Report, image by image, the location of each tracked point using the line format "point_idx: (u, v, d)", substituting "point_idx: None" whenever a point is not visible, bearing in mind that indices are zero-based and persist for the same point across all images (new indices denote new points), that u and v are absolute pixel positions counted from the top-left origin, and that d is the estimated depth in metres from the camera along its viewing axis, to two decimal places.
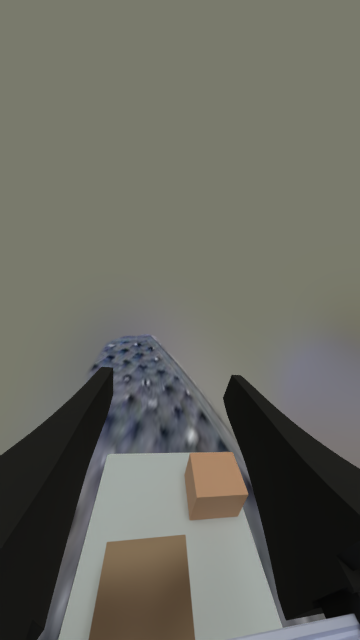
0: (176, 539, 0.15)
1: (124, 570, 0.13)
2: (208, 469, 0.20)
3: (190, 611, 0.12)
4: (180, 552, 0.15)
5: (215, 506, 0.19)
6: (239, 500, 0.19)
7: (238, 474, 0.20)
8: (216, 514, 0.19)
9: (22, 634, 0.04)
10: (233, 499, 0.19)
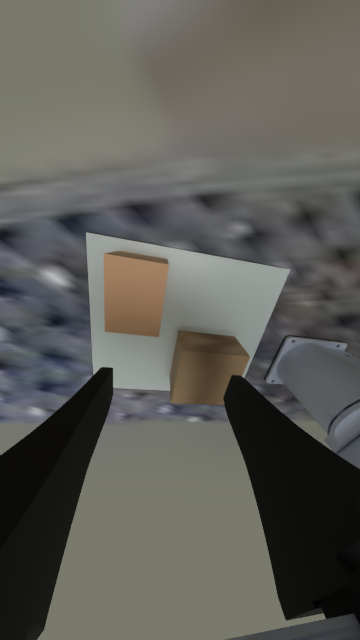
0: (182, 358, 0.16)
1: (187, 391, 0.18)
2: (129, 312, 0.13)
3: (217, 355, 0.16)
4: (190, 356, 0.16)
5: None
6: None
7: (142, 264, 0.12)
8: None
9: (22, 634, 0.04)
10: None
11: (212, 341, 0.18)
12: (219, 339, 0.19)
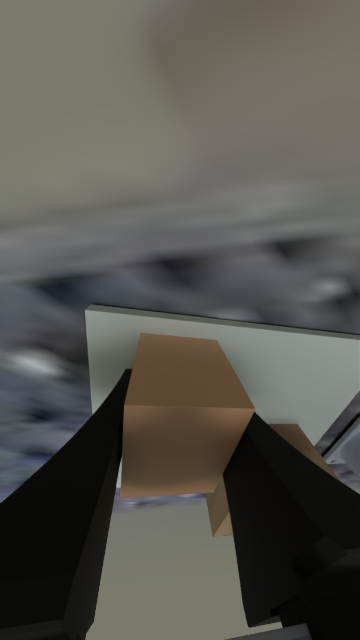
0: None
1: None
2: (167, 472, 0.07)
3: None
4: None
5: None
6: None
7: (203, 413, 0.06)
8: None
9: (86, 623, 0.04)
10: None
11: None
12: None
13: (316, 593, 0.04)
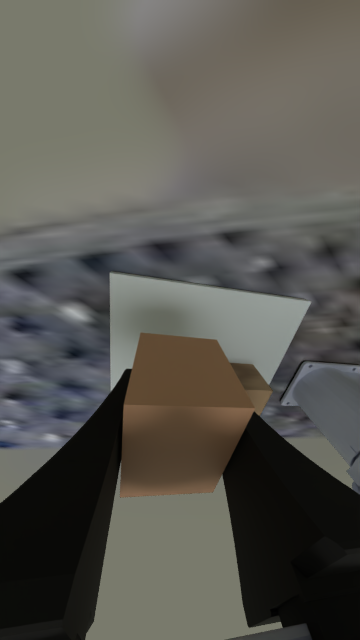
0: None
1: None
2: (167, 472, 0.07)
3: None
4: None
5: None
6: None
7: (202, 412, 0.06)
8: None
9: (86, 623, 0.04)
10: None
11: None
12: (238, 369, 0.19)
13: (316, 594, 0.04)
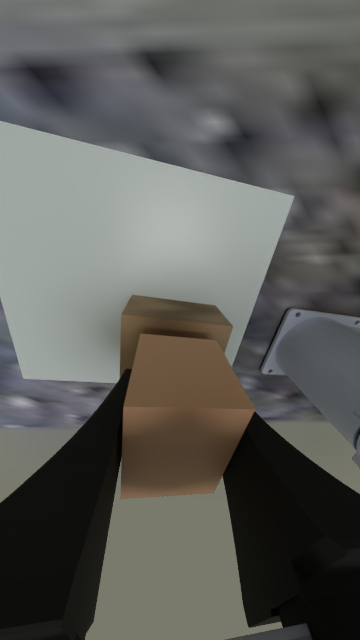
0: (125, 328, 0.10)
1: None
2: (167, 474, 0.07)
3: (181, 323, 0.10)
4: (137, 324, 0.10)
5: None
6: None
7: (202, 413, 0.06)
8: None
9: (85, 624, 0.04)
10: None
11: (179, 308, 0.12)
12: (191, 306, 0.13)
13: (316, 593, 0.04)
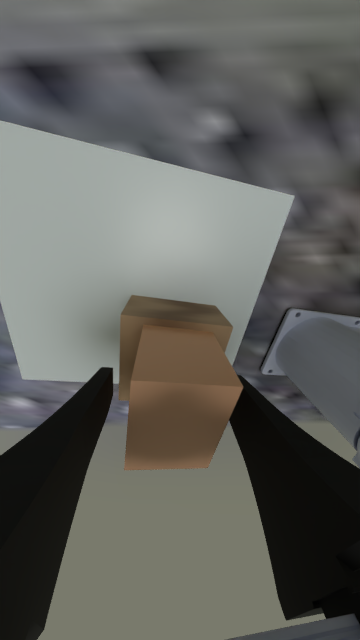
0: (124, 328, 0.10)
1: None
2: (166, 446, 0.08)
3: (181, 323, 0.10)
4: (137, 325, 0.10)
5: None
6: None
7: (198, 389, 0.07)
8: None
9: (22, 634, 0.04)
10: None
11: (179, 308, 0.12)
12: (190, 306, 0.13)
13: None
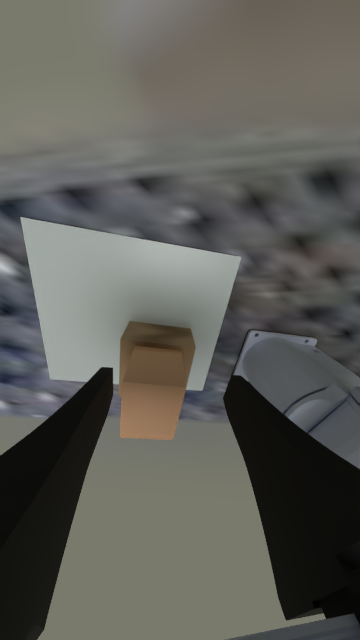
0: (122, 348, 0.15)
1: None
2: (145, 422, 0.13)
3: (160, 344, 0.16)
4: (130, 345, 0.15)
5: None
6: None
7: (160, 388, 0.12)
8: None
9: (22, 634, 0.04)
10: None
11: (161, 332, 0.18)
12: (171, 330, 0.18)
13: None
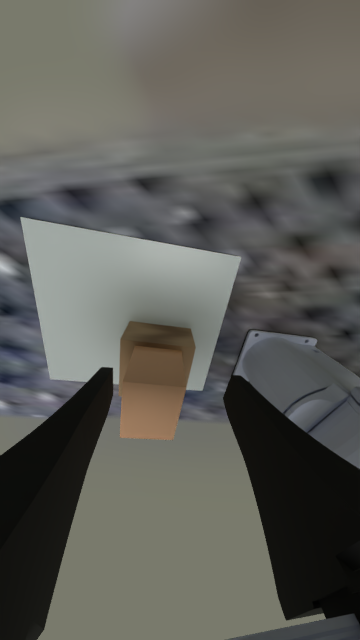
0: (122, 348, 0.15)
1: None
2: (145, 422, 0.13)
3: (160, 344, 0.16)
4: (130, 345, 0.15)
5: None
6: None
7: (160, 388, 0.12)
8: None
9: (22, 634, 0.04)
10: None
11: (161, 332, 0.18)
12: (171, 330, 0.18)
13: None
